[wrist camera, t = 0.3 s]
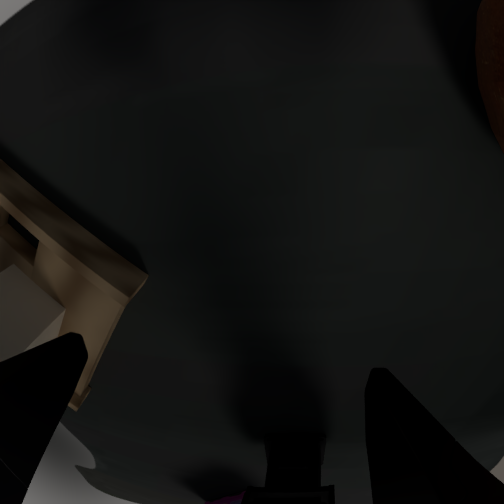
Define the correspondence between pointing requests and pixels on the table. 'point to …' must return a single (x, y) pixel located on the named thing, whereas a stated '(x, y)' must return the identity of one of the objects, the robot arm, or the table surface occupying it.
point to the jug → (491, 63)
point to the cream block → (25, 314)
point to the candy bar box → (228, 499)
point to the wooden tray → (66, 268)
